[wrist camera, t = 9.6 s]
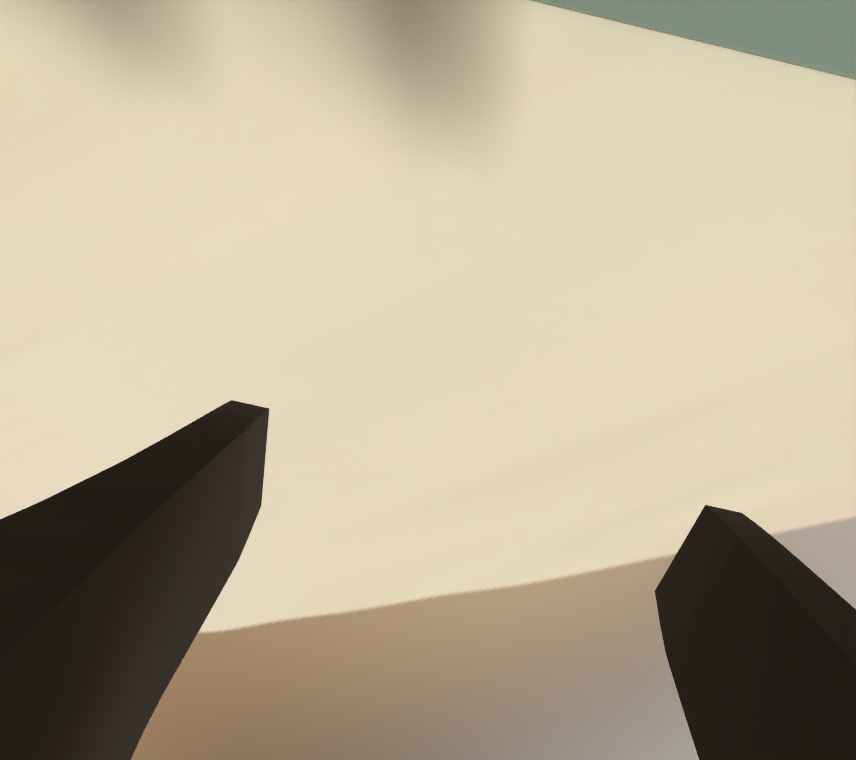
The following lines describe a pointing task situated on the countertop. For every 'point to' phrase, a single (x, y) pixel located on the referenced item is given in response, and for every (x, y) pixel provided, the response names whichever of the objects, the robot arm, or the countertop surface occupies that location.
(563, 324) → the countertop surface
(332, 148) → the countertop surface
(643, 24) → the rubber mat
